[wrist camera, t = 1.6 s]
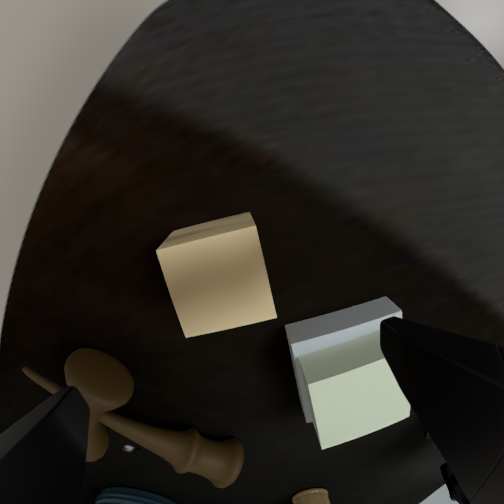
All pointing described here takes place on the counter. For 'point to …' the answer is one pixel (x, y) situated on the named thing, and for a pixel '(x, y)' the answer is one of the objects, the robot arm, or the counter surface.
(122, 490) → the canister
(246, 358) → the counter surface
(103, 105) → the counter surface
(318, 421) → the sage block
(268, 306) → the maple cube
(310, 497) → the sprinkles bottle
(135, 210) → the counter surface
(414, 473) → the counter surface
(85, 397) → the kendama
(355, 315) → the base block
